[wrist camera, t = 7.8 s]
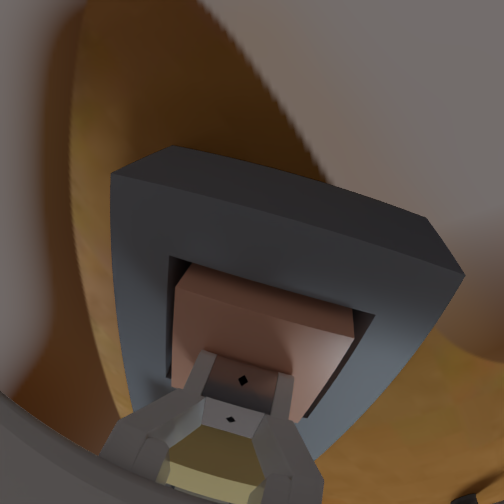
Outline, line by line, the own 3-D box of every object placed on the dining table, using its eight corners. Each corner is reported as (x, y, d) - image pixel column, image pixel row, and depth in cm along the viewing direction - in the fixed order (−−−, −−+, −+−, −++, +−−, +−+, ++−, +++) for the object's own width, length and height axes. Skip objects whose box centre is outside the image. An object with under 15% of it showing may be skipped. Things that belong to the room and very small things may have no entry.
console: (172, 145, 11) (110, 173, 8) (426, 218, 10) (465, 274, 7) (166, 462, 28) (155, 489, 25) (249, 487, 28) (242, 515, 24)
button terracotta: (214, 231, 11) (175, 287, 8) (348, 269, 11) (354, 338, 8) (199, 327, 14) (171, 386, 11) (305, 358, 13) (297, 423, 10)
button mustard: (181, 396, 13) (155, 455, 10) (281, 425, 13) (268, 488, 10) (179, 434, 16) (160, 481, 13) (258, 457, 16) (246, 506, 13)
